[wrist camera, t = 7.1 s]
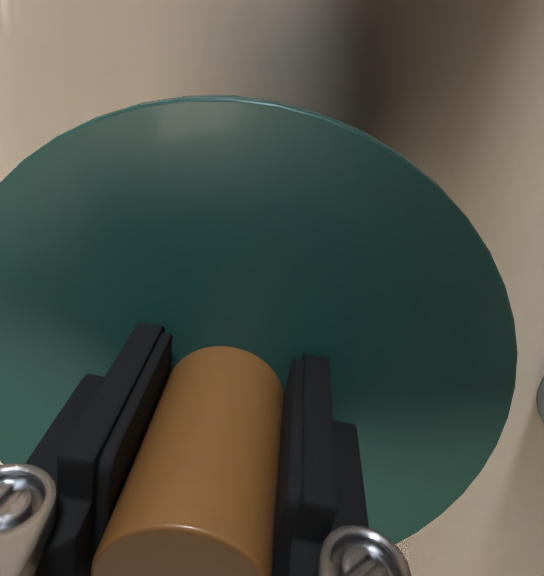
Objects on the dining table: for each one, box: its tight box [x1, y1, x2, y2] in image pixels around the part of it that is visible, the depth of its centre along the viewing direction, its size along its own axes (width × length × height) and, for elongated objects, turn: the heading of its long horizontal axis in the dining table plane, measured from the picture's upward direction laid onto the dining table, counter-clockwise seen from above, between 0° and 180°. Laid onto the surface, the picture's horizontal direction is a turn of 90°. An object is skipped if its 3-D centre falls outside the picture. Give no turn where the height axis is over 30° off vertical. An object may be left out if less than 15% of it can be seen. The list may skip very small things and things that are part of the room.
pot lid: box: [0, 95, 517, 576], centre depth 10 cm, size 12×12×6 cm
